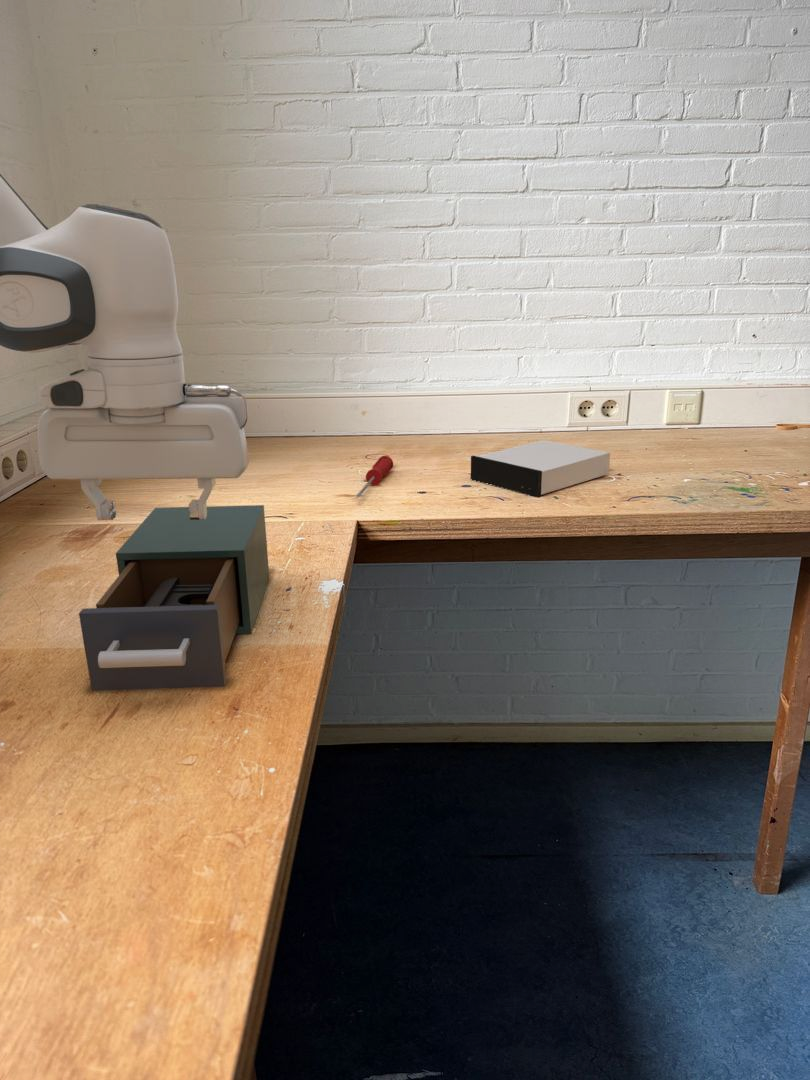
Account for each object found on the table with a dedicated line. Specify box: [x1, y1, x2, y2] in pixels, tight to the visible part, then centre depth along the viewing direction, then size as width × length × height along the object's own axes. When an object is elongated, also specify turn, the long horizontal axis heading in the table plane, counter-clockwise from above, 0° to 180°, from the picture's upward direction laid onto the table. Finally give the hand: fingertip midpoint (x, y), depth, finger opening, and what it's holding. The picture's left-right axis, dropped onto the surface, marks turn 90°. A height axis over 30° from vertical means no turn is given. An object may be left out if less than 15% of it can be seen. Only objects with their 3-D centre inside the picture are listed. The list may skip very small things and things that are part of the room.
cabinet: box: [115, 504, 270, 635], centre depth 103 cm, size 18×15×11 cm
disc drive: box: [470, 439, 611, 498], centre depth 161 cm, size 18×22×5 cm
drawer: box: [78, 557, 241, 692], centre depth 86 cm, size 21×14×9 cm, turn 2°
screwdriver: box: [355, 455, 394, 498], centre depth 156 cm, size 4×25×4 cm, turn 170°
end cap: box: [144, 577, 214, 607], centre depth 87 cm, size 10×7×7 cm
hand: (153, 518), depth 83 cm, fingers open, 8 cm apart
